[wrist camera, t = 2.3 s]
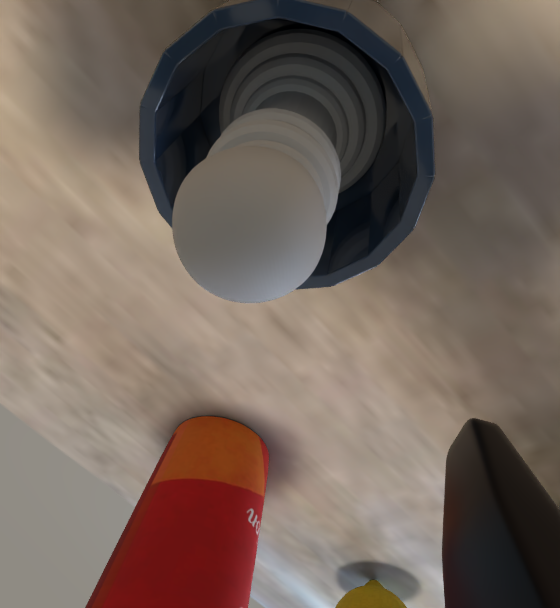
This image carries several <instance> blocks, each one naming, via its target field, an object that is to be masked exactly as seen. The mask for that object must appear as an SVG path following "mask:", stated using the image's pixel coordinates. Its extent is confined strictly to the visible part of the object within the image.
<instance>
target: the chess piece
mask: <svg viewBox="0 0 560 608" xmlns="http://www.w3.org/2000/svg"><path fill="white" fill-rule="evenodd" d="M219 124H220V131H221V136H220V138H218V140H217V141H216V142H215V143H214V145H213V146H212V148H211V149H210V151H209V153H208V155H207V157H206V159H204V160H203V161H202V162H200V163H199V164H198V165H196V166H195V167H194V168H193V169H192V170H191V171H190V173H189V174H188V175H187V176H186V178H185V179H184V181H183V182H182V184H181V186H180V188H179V190H178V193H177V196H176V199H175V203H174V208H173V216H172V230H173V238H174V243H175V247H176V250H177V253H178V255H179V258H180V260H181V262H182V264H183V265H184V267H185V269H186V270H187V272H188V273H189V274H190V276H191V277H192V278H193V279H194V280H195V281H196V282H197V283H198V284H199V285H200V286H201V287H203V288H204V289H205V290H207V291H209V292H210V293H212V294H214V295H216V296H218V297H221V298H223V299H226V300H230V301H234V302H240V303H260V302H266V301H270V300H274V299H277V298H279V297H282V296H284V295H286V294H288V293H290V292H292V291H293V290H295V289H296V288H298V287H299V286H300V285H301V284H302V283H304V282H305V281H306V280H307V278H308V277H309V276H310V275H311V274H312V272H313V271H314V269H315V268H316V266H317V264H318V262H319V260H320V257H321V255H322V252H323V249H324V244H325V239H326V229H327V224H328V222H329V221H330V219H331V218H332V215H333V213H334V211H335V208H336V204H337V199H338V194H339V193H341V192H343V191H345V190H346V189H348V188H349V187H350V186H352V185H353V184H354V183H356V182H357V181H358V180H359V179H360V178H361V177H362V176H363V175H364V174H365V173H366V172H367V170H368V169H369V168H370V167H371V165H372V163H373V162H374V160H375V159H376V157H377V155H378V153H379V151H380V148H381V145H382V142H383V139H384V134H385V129H386V104H385V99H384V95H383V91H382V88H381V85H380V83H379V80H378V78H377V76H376V74H375V73H374V71H373V69H372V68H371V66H370V65H369V64H368V62H367V61H366V60H365V58H364V57H363V56H362V55H361V54H360V53H359V52H358V51H357V50H355V49H354V48H353V47H352V46H350V45H349V44H348V43H346V42H344V41H343V40H341V39H339V38H338V37H335V36H333V35H330V34H328V33H325V32H321V31H317V30H311V29H289V30H284V31H279V32H276V33H273V34H271V35H268V36H266V37H264V38H262V39H260V40H258V41H257V42H255V43H254V44H253V45H251V46H250V47H249V48H247V49H246V50H245V51H244V52H243V53H242V54H241V55H240V56H239V58H238V59H237V60H236V62H235V63H234V64H233V66H232V68H231V69H230V71H229V73H228V75H227V77H226V80H225V82H224V85H223V88H222V92H221V96H220V104H219Z"/></svg>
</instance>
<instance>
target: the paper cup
mask: <svg viewBox="0 0 560 608" xmlns="http://www.w3.org/2000/svg"><path fill="white" fill-rule="evenodd" d="M268 466H269V453H268V449H267V447H266V445H265V443H264V442H263V440H262V439H261V438H260V437H259V436H258V435H257V434H256V433H255V432H253V431H252V430H251V429H249V428H248V427H246V426H244V425H242V424H240V423H238V422H235V421H232V420H229V419H226V418H221V417H214V416H202V417H196V418H192V419H189V420H187V421H185V422H183V423H182V424H181V425H179V426H178V428H177V429H176V430H175V432H174V434H173V435H172V437H171V439H170V441H169V442H168V444H167V446H166V448H165V450H164V452H163V454H162V456H161V458H160V460H159V462H158V463H157V465H156V467H155V469H154V471H153V473H152V475H151V477H150V479H149V481H148V483H147V485H146V487H145V489H144V491H143V493H142V495H141V497H140V499H139V501H138V503H137V505H136V507H135V509H134V511H133V513H132V515H131V517H130V519H129V521H128V523H127V525H126V527H125V529H124V531H123V533H122V535H121V537H120V539H119V541H118V543H117V545H116V547H115V549H114V551H113V553H112V555H111V557H110V559H109V561H108V563H107V565H106V567H105V569H104V571H103V573H102V575H101V577H100V579H99V581H98V583H97V585H96V587H95V589H94V591H93V593H92V596H91V597H90V599H89V601H88V603H87V605H86V607H85V608H248V604H249V597H250V591H251V584H252V578H253V571H254V565H255V558H256V551H257V545H258V538H259V531H260V525H261V518H262V511H263V504H264V497H265V490H266V483H267V475H268Z"/></svg>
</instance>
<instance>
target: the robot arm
mask: <svg viewBox="0 0 560 608" xmlns="http://www.w3.org/2000/svg"><path fill="white" fill-rule="evenodd" d="M442 563H443V581H444V596H445V608H560V510H559V508H558V507H557V506H556V504H555V503H554V501H553V500H552V499H551V497H550V496H549V495H548V493H547V492H546V490H545V489H544V488H543V486H542V485H541V483H540V482H539V481H538V479H537V478H536V477H535V475H534V474H533V472H532V471H531V470H530V468H529V467H528V466H527V464H526V463H525V461H524V460H523V459H522V457H521V456H520V455H519V453H518V452H517V450H516V449H515V448H514V446H513V445H512V443H511V442H510V441H509V439H508V438H507V437H506V435H505V434H504V432H503V431H502V430H501V428H500V427H499V426H498V425H496V424H495V423H491V422H488V421H484V420H480V419H476V418H471V419H469V420H468V421H467V422H466V423H465V425H464V426H463V428H462V429H461V431H460V432H459V434H458V436H457V437H456V439H455V440H454V442H453V444H452V445H451V447H450V449H449V451H448V455H447V459H446V475H445V496H444V517H443V538H442Z"/></svg>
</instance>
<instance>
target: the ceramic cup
mask: <svg viewBox="0 0 560 608" xmlns="http://www.w3.org/2000/svg"><path fill="white" fill-rule="evenodd" d="M289 29H311V30H317V31H321V32H325V33H328V34H330V35H333V36H335V37H338V38H339V39H341V40H343V41H344V42H346V43H348V44H349V45H350V46H352V47H353V48H354V49H355V50H357V51H358V52H359V53H360V54H361V55H362V56H363V57H364V58H365V60H366V61H367V62H368V64H369V65H370V66H371V68H372V69H373V71H374V73H375V74H376V76H377V78H378V80H379V83H380V85H381V88H382V91H383V95H384V99H385V104H386V129H385V134H384V139H383V142H382V145H381V148H380V151H379V153H378V155H377V157H376V159H375V160H374V162H373V163H372V165H371V167H370V168H369V169H368V170H367V172H366V173H365V174H364V175H363V176H362V177H361V178H360V179H359V180H358V181H357V182H356V183H354V184H353V185H352V186H350V187H349V188H348V189H346V190H345V191H343V192H341V193H339V194H338V199H337V204H336V208H335V211H334V213H333V215H332V218H331V219H330V221H329V222H328V224H327V229H326V239H325V244H324V249H323V252H322V255H321V257H320V260H319V262H318V264H317V266H316V268H315V269H314V271H313V272H312V274H311V275H310V276H309V277H308V278H307V280H306V281H305V282H304V283H302V284H301V285H300V286H299V287H298V288H296V289H308V288H321V287H331V286H335V285H337V284H339V283H341V282H344V281H346V280H348V279H350V278H352V277H355V276H357V275H359V274H361V273H364V272H366V271H368V270H370V269H373V268H375V267H377V265H379V264H380V263H381V262H382V261H383V260H384V259H385V258H386V257H387V256H388V255H389V254H390V253H391V252H392V251H393V250H394V249H395V248H396V247H397V246H398V245H399V244H400V243H401V242H402V241H403V240H404V239H405V238H406V237H407V236H408V235H409V234H410V233H411V232H412V231H413V230H414V228H415V227H416V224H417V222H418V219H419V217H420V214H421V212H422V209H423V207H424V204H425V202H426V199H427V196H428V194H429V191H430V189H431V186H432V184H433V181H434V179H435V149H434V125H433V114H432V109H431V104H430V99H429V94H428V89H427V84H426V79H425V75H424V71H423V68H422V66H421V64H420V62H419V60H418V58H417V56H416V54H415V51H414V49H413V46H412V44H411V42H410V41H409V39H408V37H407V35H406V33H405V31H404V29H403V27H402V25H401V24H400V23H399V21H398V20H396V19H395V18H394V17H393V16H392V15H391V14H390V13H388V12H387V11H386V10H385V9H384V8H383V7H382V6H381V5H380V4H379V3H377V2H376V1H374V0H230V1H228V2H226V3H224V4H222V5H220V6H219V7H217V8H215V9H213V10H211V11H210V12H209V13H207V14H206V15H205V16H204V17H203V18H201V19H200V20H199V21H198V22H197V23H195V24H194V25H193V26H192V27H191V28H189V29H188V30H187V31H186V32H185V33H184V34H182V35H181V36H180V37H179V38H178V39H176V40H175V41H174V42H173V43H172V44H170V45H169V46H168V47H167V48H166V49H165V51H164V52H163V53H162V55H161V58H160V60H159V62H158V64H157V67H156V69H155V71H154V73H153V75H152V78H151V80H150V82H149V84H148V87H147V89H146V91H145V93H144V96H143V98H142V100H141V102H140V104H141V105H140V125H139V160H140V164H141V167H142V170H143V172H144V175H145V178H146V180H147V183H148V186H149V188H150V191H151V194H152V196H153V199H154V202H155V204H156V207H157V209H158V211H159V213H160V214H161V216H162V217H163V218H164V219H165V220H166V222H167V223H168V224H169V225H170V226H171V228H172V216H173V208H174V203H175V199H176V196H177V193H178V190H179V188H180V186H181V184H182V182H183V181H184V179H185V178H186V176H187V175H188V174H189V173H190V171H191V170H192V169H193V168H194V167H195V166H196V165H198V164H199V163H200V162H202V161H203V160H204V159H206V157H207V155H208V153H209V151H210V149H211V148H212V146H213V145H214V143H215V142H216V141H217V140H218V138H220V136H221V131H220V124H219V104H220V96H221V92H222V88H223V85H224V82H225V80H226V77H227V75H228V73H229V71H230V69H231V68H232V66H233V64H234V63H235V62H236V60H237V59H238V58H239V56H240V55H241V54H242V53H243V52H244V51H245V50H246V49H247V48H249V47H250V46H251V45H253V44H254V43H255V42H257V41H258V40H260V39H262V38H264V37H266V36H268V35H271V34H273V33H276V32H279V31H284V30H289Z"/></svg>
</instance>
